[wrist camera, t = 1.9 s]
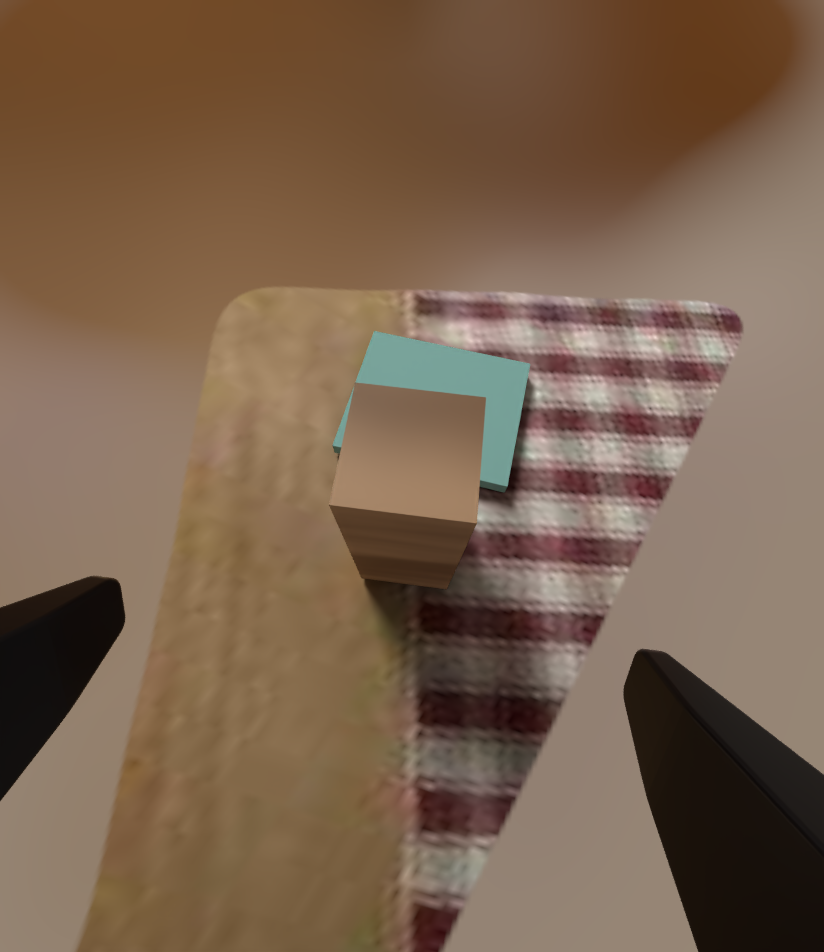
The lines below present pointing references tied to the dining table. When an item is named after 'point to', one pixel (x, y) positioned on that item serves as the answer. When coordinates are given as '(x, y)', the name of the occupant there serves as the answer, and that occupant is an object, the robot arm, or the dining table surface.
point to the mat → (453, 390)
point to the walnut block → (409, 482)
